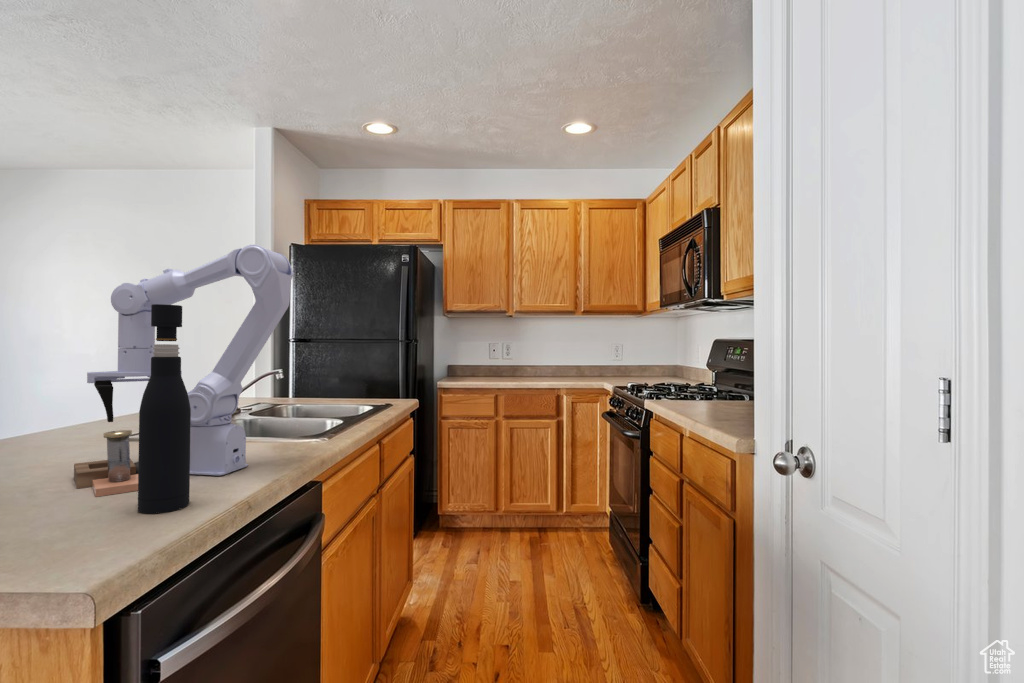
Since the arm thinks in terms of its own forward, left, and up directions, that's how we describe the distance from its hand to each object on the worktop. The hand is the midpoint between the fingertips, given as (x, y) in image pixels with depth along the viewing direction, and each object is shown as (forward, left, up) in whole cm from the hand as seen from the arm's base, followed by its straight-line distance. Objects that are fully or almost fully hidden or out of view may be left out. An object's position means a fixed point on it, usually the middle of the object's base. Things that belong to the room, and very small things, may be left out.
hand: (135, 419), depth 100 cm
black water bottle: (-23, +19, -10) cm, 31 cm away
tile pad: (-8, +12, -9) cm, 17 cm away
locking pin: (-8, +11, -8) cm, 16 cm away
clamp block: (-2, +7, -9) cm, 12 cm away
